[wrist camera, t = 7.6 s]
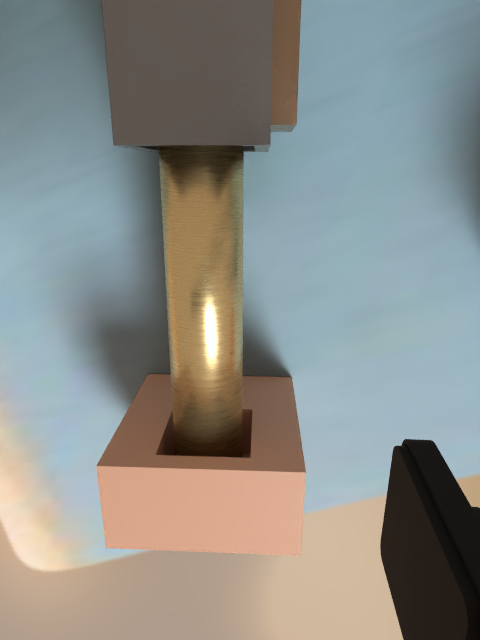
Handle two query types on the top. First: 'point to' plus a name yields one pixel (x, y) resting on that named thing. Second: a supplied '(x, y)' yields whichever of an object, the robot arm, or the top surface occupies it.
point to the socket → (206, 478)
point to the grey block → (201, 71)
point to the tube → (204, 295)
